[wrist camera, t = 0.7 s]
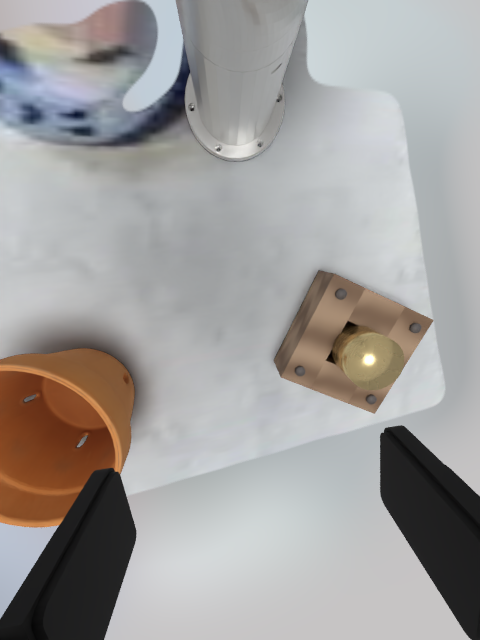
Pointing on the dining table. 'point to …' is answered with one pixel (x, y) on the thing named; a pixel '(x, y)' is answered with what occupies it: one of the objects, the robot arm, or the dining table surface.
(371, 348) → the yellow translucent cylinder
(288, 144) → the dining table surface
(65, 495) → the flower pot
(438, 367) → the dining table surface
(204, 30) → the robot arm
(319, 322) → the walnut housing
